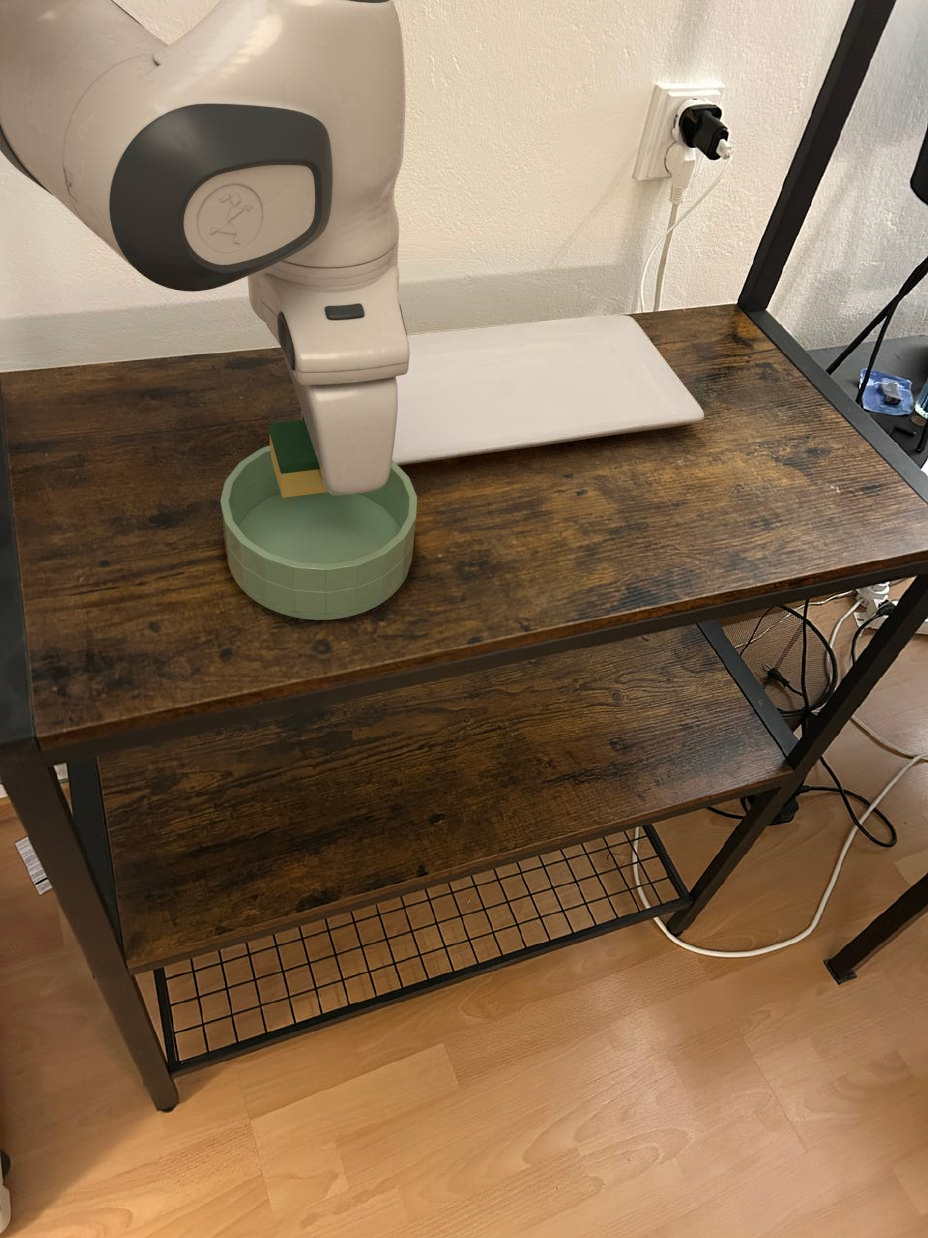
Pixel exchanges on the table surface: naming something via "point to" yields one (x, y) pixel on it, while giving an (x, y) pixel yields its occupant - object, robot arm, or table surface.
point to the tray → (533, 387)
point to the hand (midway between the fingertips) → (324, 454)
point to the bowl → (316, 542)
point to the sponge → (294, 459)
